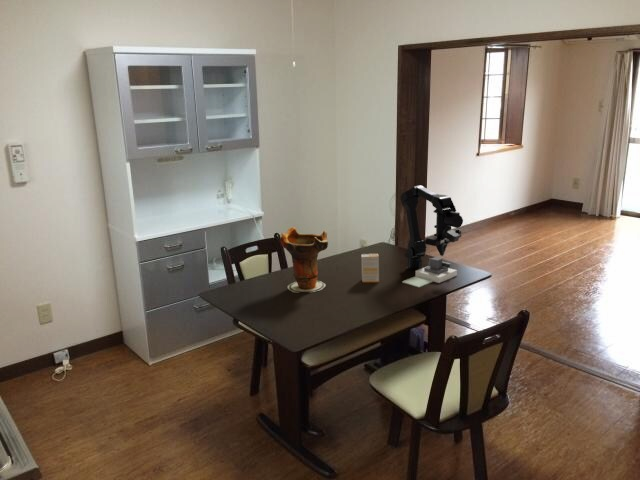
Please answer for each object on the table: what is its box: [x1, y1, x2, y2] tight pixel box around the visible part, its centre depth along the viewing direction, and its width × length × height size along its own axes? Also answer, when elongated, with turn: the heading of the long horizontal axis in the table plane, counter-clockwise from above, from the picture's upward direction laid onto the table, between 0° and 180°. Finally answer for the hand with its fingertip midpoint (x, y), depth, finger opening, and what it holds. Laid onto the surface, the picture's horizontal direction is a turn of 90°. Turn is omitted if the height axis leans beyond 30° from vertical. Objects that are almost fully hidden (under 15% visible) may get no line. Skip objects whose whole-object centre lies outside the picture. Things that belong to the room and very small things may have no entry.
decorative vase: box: [279, 226, 329, 294], centre depth 253 cm, size 21×23×28 cm
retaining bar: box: [427, 257, 452, 269], centre depth 263 cm, size 13×2×4 cm, turn 41°
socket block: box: [414, 265, 458, 284], centre depth 262 cm, size 14×14×3 cm
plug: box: [423, 256, 448, 274], centre depth 261 cm, size 8×8×9 cm
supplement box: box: [360, 253, 380, 283], centre depth 258 cm, size 8×5×13 cm, turn 84°
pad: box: [401, 276, 434, 289], centre depth 255 cm, size 10×10×1 cm
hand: (441, 255), depth 254 cm, fingers closed
